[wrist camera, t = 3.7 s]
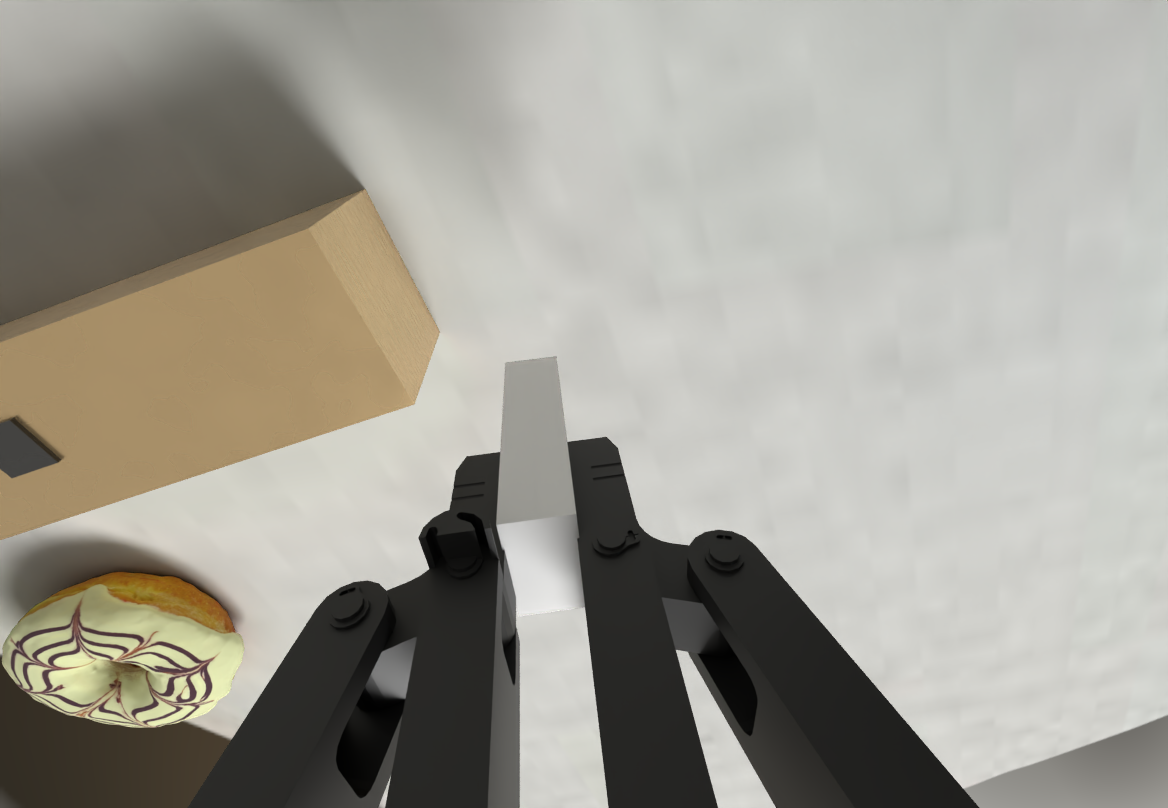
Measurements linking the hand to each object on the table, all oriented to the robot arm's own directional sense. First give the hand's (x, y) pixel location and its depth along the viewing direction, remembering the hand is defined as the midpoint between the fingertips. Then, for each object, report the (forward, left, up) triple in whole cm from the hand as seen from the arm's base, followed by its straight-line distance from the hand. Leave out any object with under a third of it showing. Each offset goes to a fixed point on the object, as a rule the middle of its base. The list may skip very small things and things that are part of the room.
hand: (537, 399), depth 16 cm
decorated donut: (+17, -25, -8) cm, 31 cm away
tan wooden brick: (0, -15, -8) cm, 16 cm away
